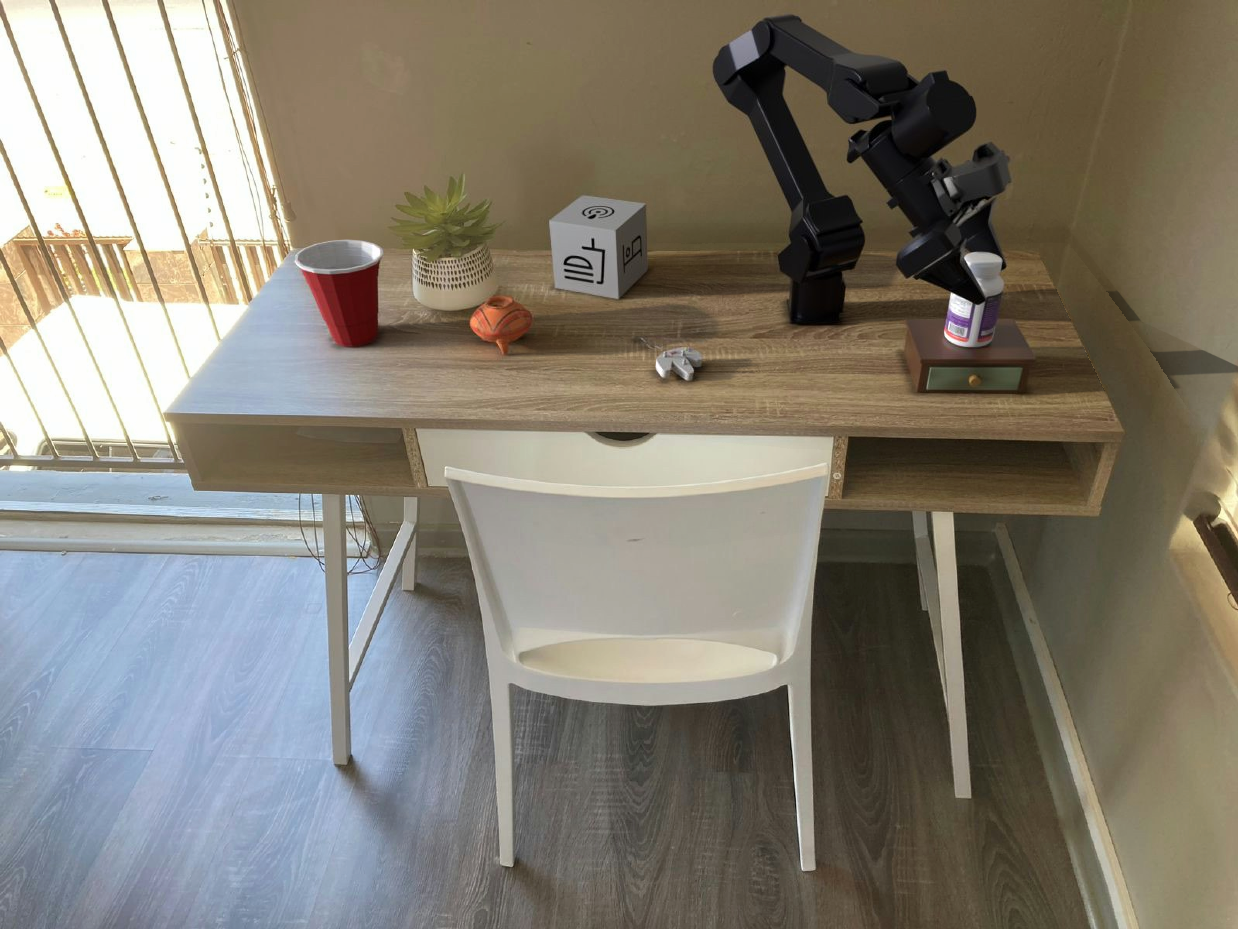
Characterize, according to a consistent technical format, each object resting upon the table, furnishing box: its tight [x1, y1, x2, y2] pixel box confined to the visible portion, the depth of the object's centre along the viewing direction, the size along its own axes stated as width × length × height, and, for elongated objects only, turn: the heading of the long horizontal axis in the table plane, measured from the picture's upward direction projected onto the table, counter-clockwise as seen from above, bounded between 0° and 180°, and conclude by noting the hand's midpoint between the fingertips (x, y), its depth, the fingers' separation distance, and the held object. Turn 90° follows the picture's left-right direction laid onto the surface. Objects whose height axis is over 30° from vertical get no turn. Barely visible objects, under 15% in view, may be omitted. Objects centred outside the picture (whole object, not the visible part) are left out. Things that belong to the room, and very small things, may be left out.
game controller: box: [637, 337, 703, 381], centre depth 115 cm, size 6×12×3 cm, turn 49°
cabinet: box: [903, 318, 1037, 394], centre depth 110 cm, size 13×10×5 cm
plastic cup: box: [294, 239, 384, 348], centre depth 121 cm, size 11×11×12 cm
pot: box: [469, 295, 534, 356], centre depth 120 cm, size 8×8×7 cm
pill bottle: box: [944, 252, 1005, 347], centre depth 106 cm, size 5×5×10 cm
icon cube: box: [548, 194, 649, 300], centre depth 133 cm, size 10×10×10 cm
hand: (993, 285), depth 104 cm, fingers open, 9 cm apart
